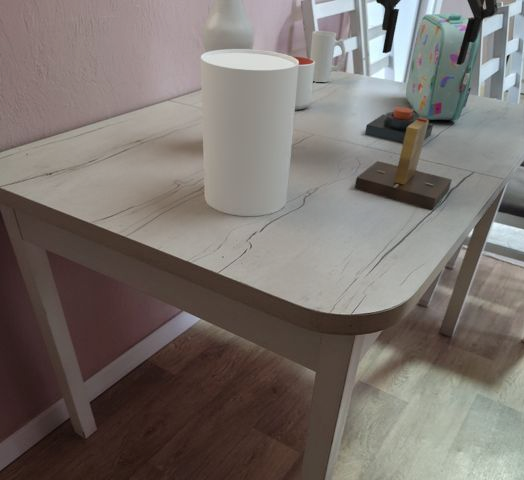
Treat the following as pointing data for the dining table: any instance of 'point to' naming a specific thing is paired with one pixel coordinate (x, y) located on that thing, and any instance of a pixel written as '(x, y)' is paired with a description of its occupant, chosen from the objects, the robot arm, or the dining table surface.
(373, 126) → the push button base
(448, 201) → the dining table surface
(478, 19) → the robot arm
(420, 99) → the lunch box
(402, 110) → the bell button
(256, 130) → the canister
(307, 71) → the cup
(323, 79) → the mug
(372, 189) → the plate
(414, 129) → the block
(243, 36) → the white bottle
